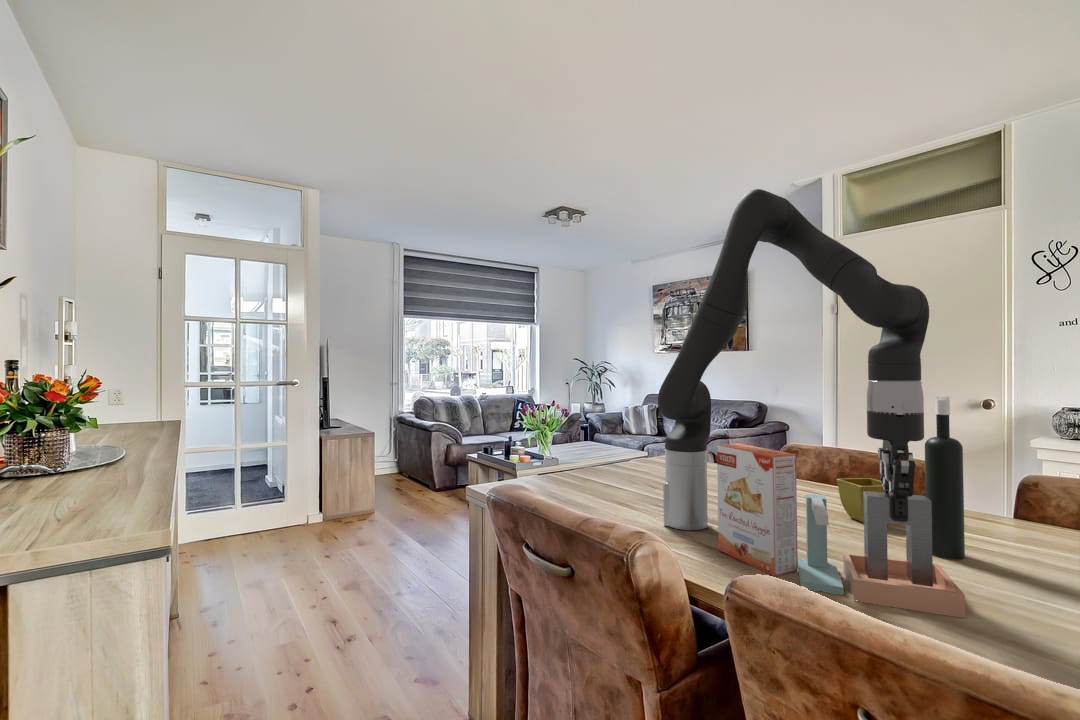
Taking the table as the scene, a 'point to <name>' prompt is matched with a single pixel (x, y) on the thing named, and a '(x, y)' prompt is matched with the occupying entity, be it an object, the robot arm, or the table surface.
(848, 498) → the flower pot
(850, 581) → the tray
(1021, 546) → the table surface
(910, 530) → the grey arch block
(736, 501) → the cracker box
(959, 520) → the wine bottle
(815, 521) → the peg stand
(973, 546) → the table surface
